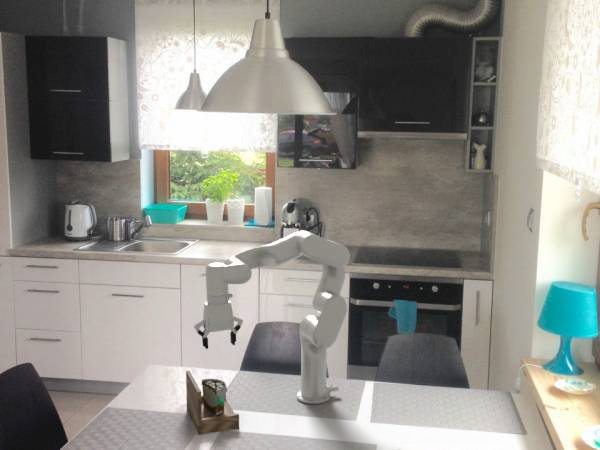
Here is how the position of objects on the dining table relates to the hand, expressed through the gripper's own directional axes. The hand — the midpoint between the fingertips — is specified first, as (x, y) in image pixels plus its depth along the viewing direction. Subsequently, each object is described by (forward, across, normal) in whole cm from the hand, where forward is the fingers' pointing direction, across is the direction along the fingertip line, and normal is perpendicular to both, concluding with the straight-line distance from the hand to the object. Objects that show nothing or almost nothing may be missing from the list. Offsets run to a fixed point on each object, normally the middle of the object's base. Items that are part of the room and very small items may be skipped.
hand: (219, 345), depth 250 cm
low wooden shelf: (+25, +5, +4) cm, 26 cm away
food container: (+22, +3, +4) cm, 23 cm away
